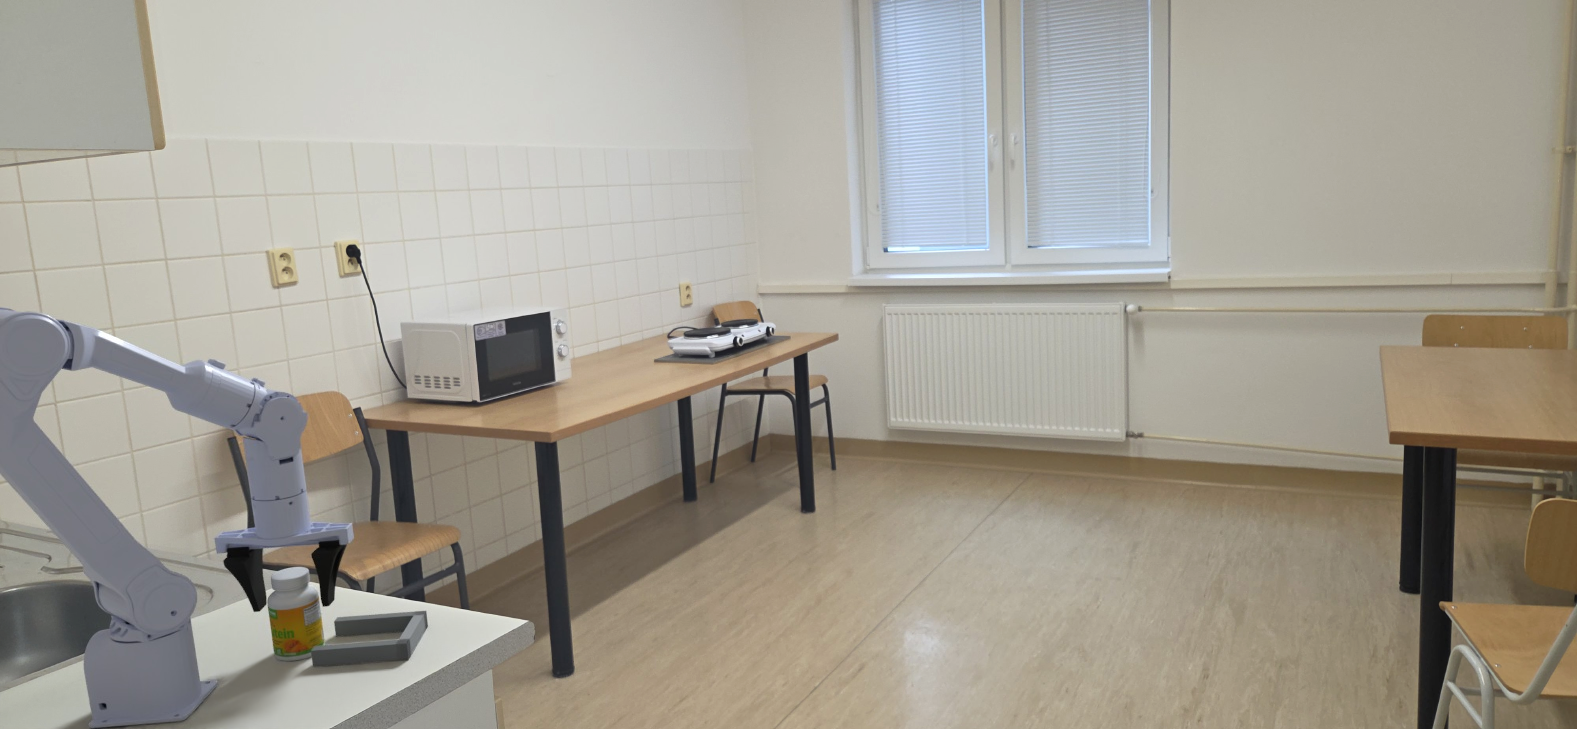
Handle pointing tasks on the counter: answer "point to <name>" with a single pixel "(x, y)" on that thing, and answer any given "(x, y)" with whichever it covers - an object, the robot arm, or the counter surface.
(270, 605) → the supplement bottle
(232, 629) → the counter surface
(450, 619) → the counter surface
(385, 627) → the gray u-shaped bracket
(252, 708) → the counter surface
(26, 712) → the counter surface
